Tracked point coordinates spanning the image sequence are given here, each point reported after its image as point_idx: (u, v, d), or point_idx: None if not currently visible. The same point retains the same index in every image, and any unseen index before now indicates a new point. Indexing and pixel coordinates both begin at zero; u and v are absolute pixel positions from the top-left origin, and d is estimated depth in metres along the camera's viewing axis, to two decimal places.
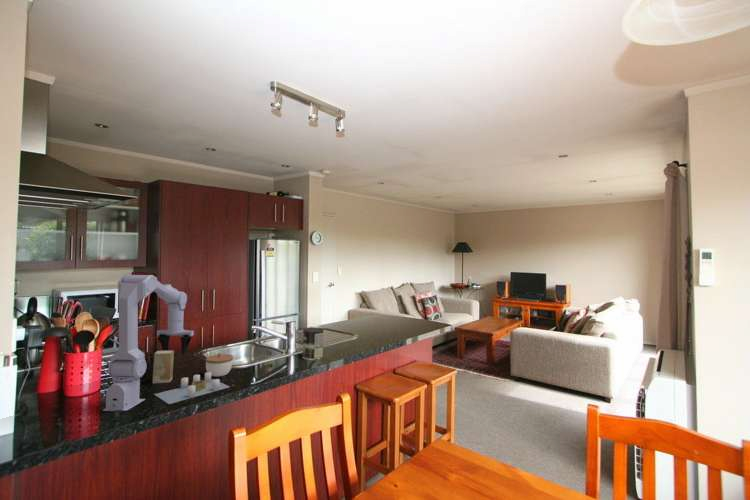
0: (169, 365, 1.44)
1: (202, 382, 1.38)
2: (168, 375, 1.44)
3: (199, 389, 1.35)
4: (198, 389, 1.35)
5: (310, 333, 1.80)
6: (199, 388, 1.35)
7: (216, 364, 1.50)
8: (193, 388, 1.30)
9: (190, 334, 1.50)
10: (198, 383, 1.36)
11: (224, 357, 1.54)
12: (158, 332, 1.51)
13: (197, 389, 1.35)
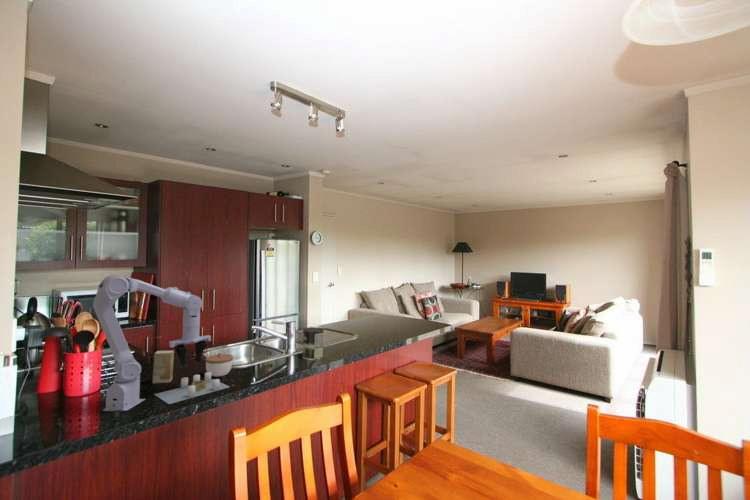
0: (169, 365, 1.44)
1: (202, 382, 1.38)
2: (168, 375, 1.44)
3: (199, 389, 1.35)
4: (198, 389, 1.35)
5: (310, 333, 1.80)
6: (199, 388, 1.35)
7: (216, 364, 1.50)
8: (193, 388, 1.30)
9: None
10: (198, 383, 1.36)
11: (224, 357, 1.54)
12: None
13: (197, 389, 1.35)
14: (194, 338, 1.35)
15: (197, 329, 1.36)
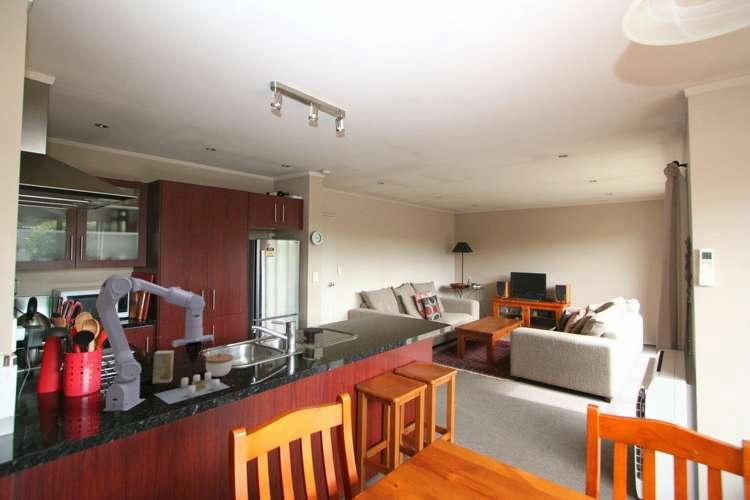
0: (169, 365, 1.44)
1: (202, 382, 1.38)
2: (168, 375, 1.44)
3: (199, 389, 1.35)
4: (198, 389, 1.35)
5: (310, 333, 1.80)
6: (199, 388, 1.35)
7: (216, 364, 1.50)
8: (193, 388, 1.30)
9: None
10: (198, 383, 1.36)
11: (224, 357, 1.54)
12: None
13: (197, 389, 1.35)
14: (197, 337, 1.36)
15: (200, 328, 1.37)
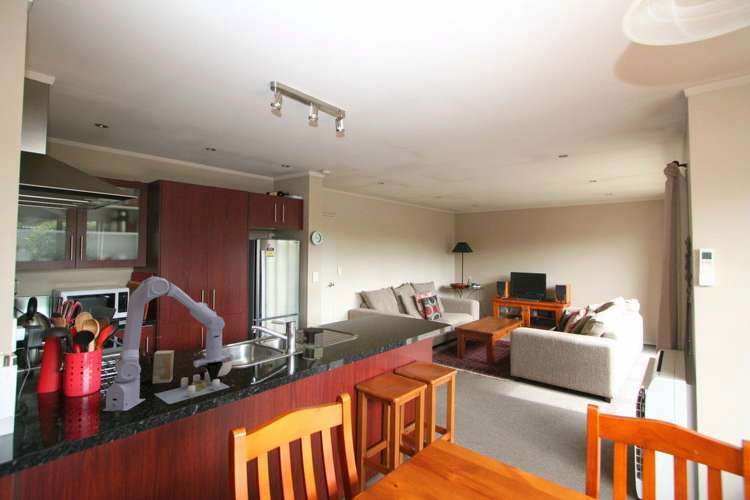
0: (169, 365, 1.44)
1: (202, 382, 1.38)
2: (168, 375, 1.44)
3: (199, 389, 1.35)
4: (198, 389, 1.35)
5: (310, 333, 1.80)
6: (199, 388, 1.35)
7: None
8: (193, 388, 1.30)
9: None
10: (198, 383, 1.36)
11: None
12: None
13: (197, 389, 1.35)
14: (217, 357, 1.40)
15: (220, 348, 1.41)
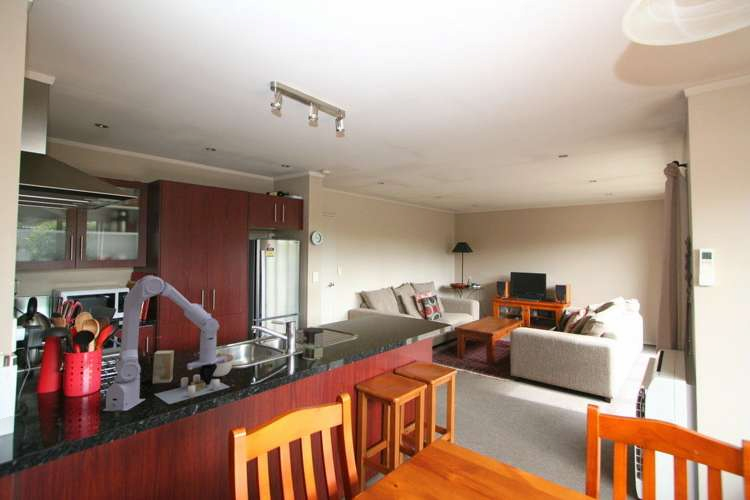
0: (169, 365, 1.44)
1: (201, 382, 1.37)
2: (168, 375, 1.44)
3: (198, 390, 1.35)
4: (197, 389, 1.35)
5: (310, 333, 1.80)
6: (198, 388, 1.35)
7: (216, 364, 1.50)
8: (193, 388, 1.30)
9: None
10: (197, 383, 1.36)
11: None
12: None
13: (196, 389, 1.35)
14: (211, 360, 1.38)
15: (214, 351, 1.39)
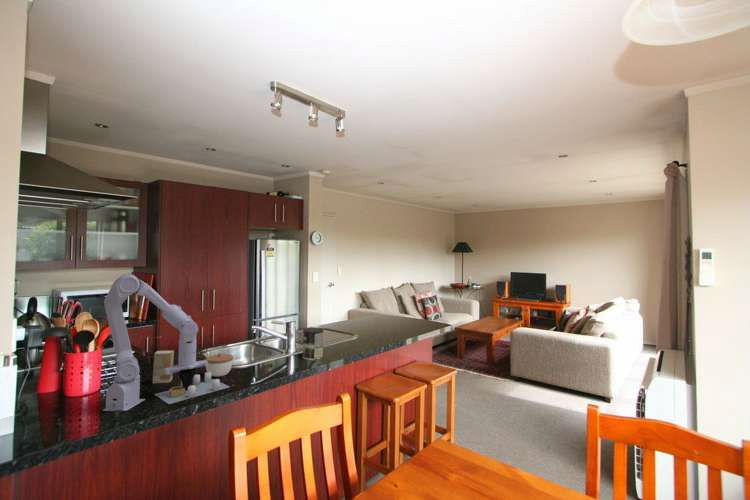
0: (169, 365, 1.44)
1: (181, 388, 1.31)
2: (168, 375, 1.44)
3: (178, 395, 1.29)
4: (177, 395, 1.29)
5: (310, 333, 1.80)
6: (178, 394, 1.29)
7: (216, 364, 1.50)
8: (193, 388, 1.30)
9: None
10: (177, 389, 1.30)
11: (224, 357, 1.54)
12: None
13: (176, 395, 1.29)
14: (190, 364, 1.32)
15: (193, 355, 1.33)
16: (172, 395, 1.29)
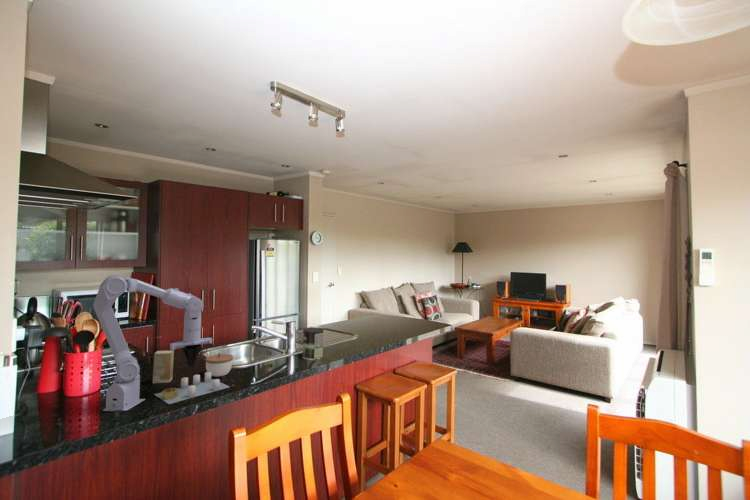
0: (169, 365, 1.44)
1: (174, 389, 1.30)
2: (168, 375, 1.44)
3: (172, 397, 1.27)
4: (171, 397, 1.27)
5: (310, 333, 1.80)
6: (172, 396, 1.27)
7: (216, 364, 1.50)
8: (193, 388, 1.30)
9: None
10: (170, 391, 1.28)
11: (224, 357, 1.54)
12: None
13: (169, 397, 1.27)
14: (195, 340, 1.34)
15: (198, 331, 1.35)
16: (165, 397, 1.27)
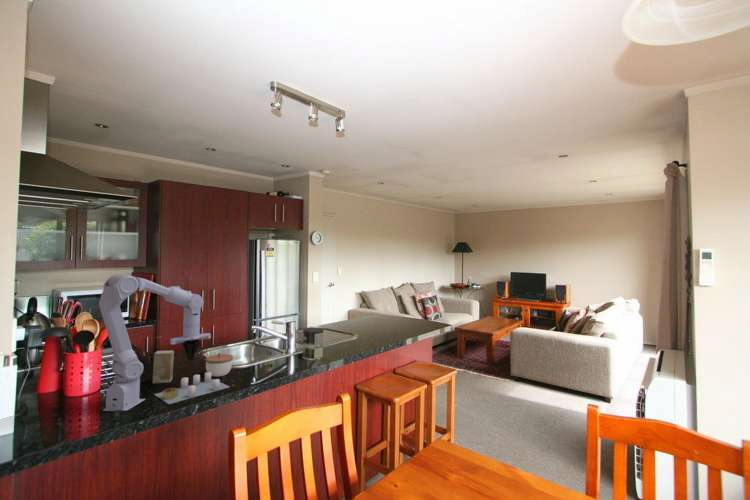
0: (169, 365, 1.44)
1: (174, 389, 1.30)
2: (168, 375, 1.44)
3: (172, 397, 1.27)
4: (171, 397, 1.27)
5: (310, 333, 1.80)
6: (172, 396, 1.27)
7: (216, 364, 1.50)
8: (193, 388, 1.30)
9: None
10: (170, 391, 1.28)
11: (224, 357, 1.54)
12: None
13: (169, 397, 1.27)
14: (194, 336, 1.39)
15: (197, 327, 1.41)
16: (165, 397, 1.27)
